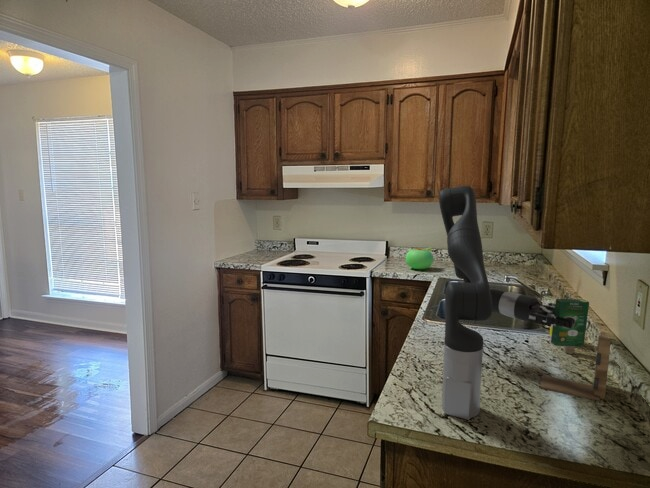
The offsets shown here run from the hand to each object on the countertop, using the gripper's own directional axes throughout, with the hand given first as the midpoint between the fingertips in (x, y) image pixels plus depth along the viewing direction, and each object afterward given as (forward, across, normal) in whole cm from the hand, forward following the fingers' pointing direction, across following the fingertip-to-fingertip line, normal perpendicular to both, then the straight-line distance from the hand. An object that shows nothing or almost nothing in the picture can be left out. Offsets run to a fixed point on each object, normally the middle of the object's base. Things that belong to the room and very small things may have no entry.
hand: (578, 321), depth 113 cm
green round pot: (-127, +97, +23) cm, 161 cm away
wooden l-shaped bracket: (-1, +2, +20) cm, 20 cm away
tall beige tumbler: (-10, +26, +21) cm, 35 cm away
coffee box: (-2, 0, +8) cm, 8 cm away
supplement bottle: (-16, +35, +21) cm, 44 cm away
